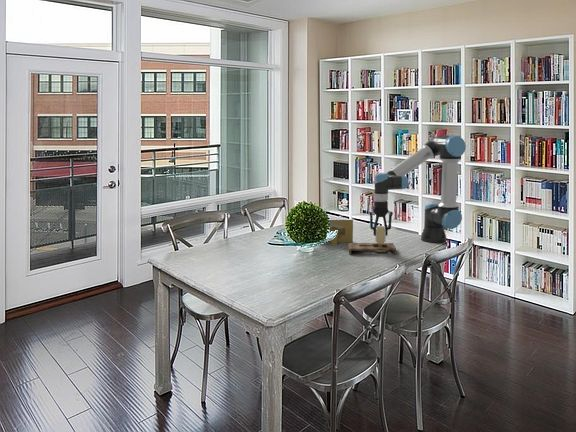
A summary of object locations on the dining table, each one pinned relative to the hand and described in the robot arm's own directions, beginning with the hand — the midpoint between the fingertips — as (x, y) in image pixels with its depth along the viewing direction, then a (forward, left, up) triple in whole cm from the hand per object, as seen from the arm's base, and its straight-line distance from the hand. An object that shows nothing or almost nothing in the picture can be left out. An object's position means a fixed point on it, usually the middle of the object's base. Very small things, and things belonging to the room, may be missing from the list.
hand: (380, 241), depth 287 cm
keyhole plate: (+5, 0, -6) cm, 8 cm away
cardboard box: (+26, -20, -7) cm, 33 cm away
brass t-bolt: (0, 0, -6) cm, 6 cm away
